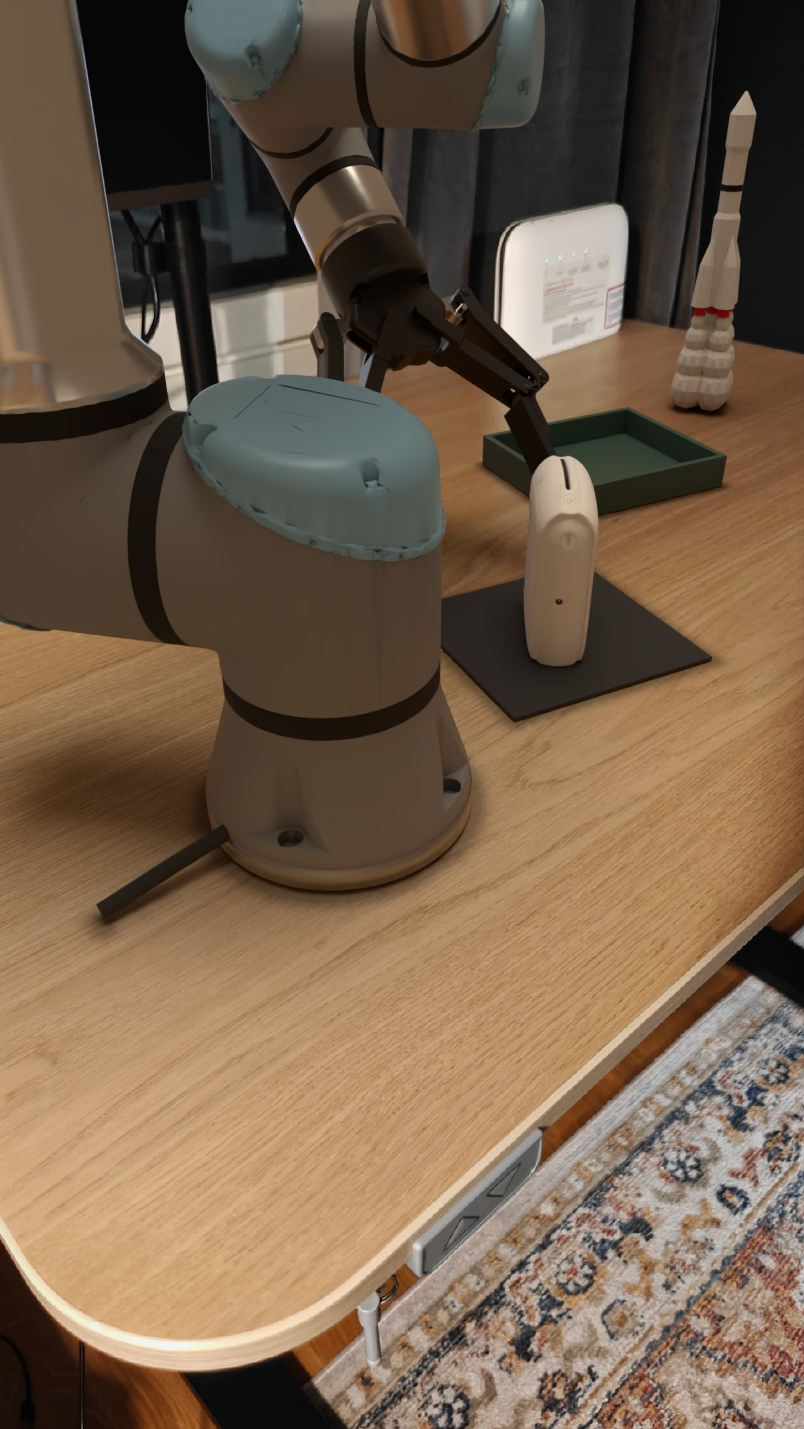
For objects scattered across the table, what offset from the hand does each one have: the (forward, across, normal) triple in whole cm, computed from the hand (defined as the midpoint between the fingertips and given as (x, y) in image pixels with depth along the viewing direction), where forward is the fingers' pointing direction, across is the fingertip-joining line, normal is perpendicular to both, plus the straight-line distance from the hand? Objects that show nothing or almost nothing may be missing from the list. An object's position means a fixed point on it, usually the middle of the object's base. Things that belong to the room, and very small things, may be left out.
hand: (483, 504), depth 75 cm
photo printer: (+11, 0, +1) cm, 11 cm away
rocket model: (-8, -46, -18) cm, 50 cm away
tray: (-3, -24, -13) cm, 27 cm away
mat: (+11, 0, +1) cm, 11 cm away
